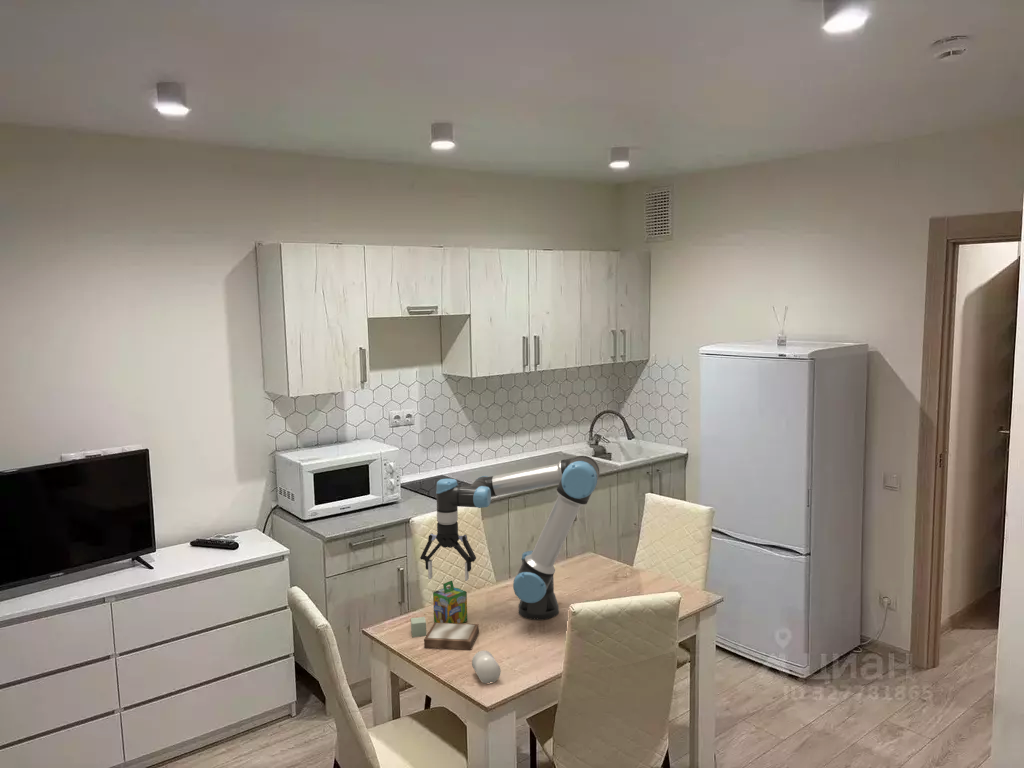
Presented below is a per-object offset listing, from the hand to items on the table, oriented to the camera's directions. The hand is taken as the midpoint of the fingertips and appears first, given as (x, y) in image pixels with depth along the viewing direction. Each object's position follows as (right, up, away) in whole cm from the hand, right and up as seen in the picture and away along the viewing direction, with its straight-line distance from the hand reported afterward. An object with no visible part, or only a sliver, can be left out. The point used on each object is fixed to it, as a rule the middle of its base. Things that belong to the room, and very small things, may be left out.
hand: (448, 578), depth 274 cm
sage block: (-10, -17, -8) cm, 21 cm away
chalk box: (+1, -16, +1) cm, 16 cm away
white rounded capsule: (+14, -16, -38) cm, 43 cm away
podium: (+2, -18, -14) cm, 22 cm away
